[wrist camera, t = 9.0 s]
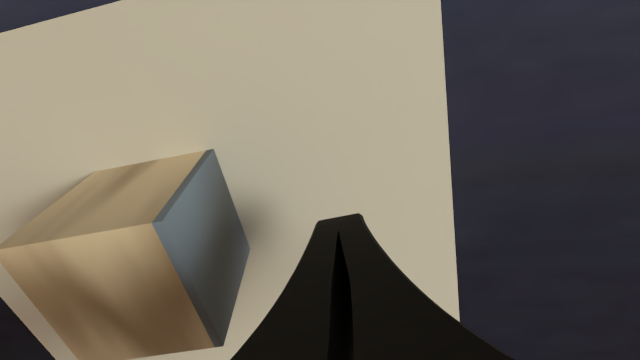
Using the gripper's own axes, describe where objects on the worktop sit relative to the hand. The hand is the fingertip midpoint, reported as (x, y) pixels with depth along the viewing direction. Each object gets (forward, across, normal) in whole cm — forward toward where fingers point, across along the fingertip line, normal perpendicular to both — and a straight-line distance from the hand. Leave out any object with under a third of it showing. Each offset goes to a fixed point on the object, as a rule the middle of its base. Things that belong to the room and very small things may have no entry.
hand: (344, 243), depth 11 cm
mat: (+5, +6, +1) cm, 8 cm away
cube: (+2, +4, 0) cm, 5 cm away
